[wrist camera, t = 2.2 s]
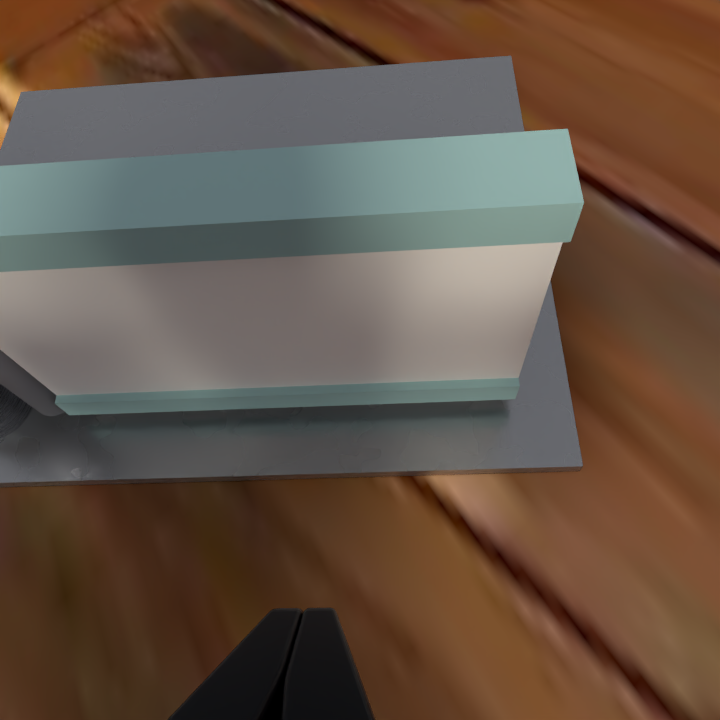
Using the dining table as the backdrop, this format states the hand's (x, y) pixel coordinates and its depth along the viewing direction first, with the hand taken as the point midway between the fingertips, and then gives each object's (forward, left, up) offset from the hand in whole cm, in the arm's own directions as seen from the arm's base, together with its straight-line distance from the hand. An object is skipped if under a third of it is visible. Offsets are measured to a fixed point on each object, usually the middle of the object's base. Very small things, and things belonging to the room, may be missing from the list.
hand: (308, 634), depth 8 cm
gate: (+6, +7, -10) cm, 14 cm away
